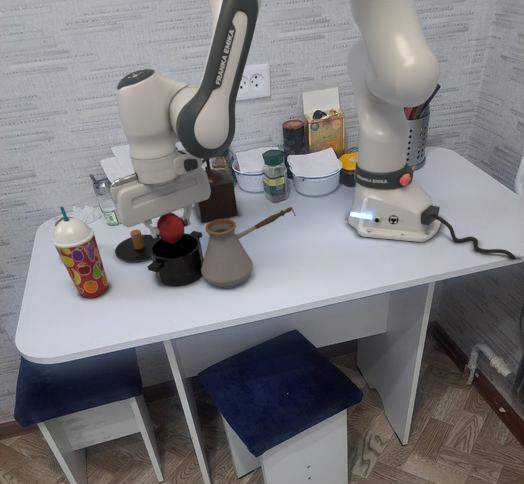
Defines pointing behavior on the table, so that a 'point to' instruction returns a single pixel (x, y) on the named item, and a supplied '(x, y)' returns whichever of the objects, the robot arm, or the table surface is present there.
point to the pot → (177, 260)
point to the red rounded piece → (170, 228)
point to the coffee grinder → (217, 196)
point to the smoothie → (80, 256)
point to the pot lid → (135, 247)
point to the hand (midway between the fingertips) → (171, 230)
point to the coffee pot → (229, 252)
